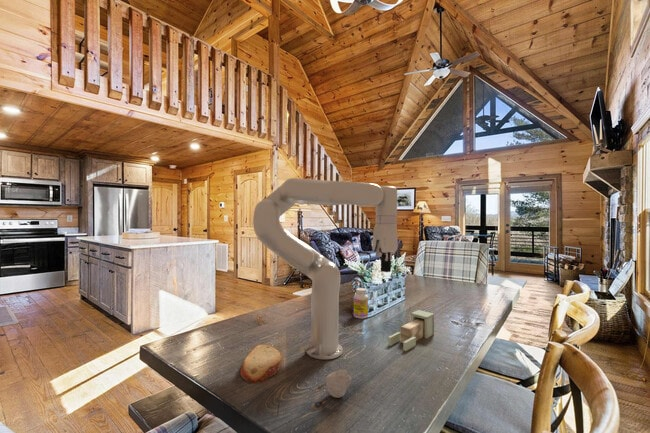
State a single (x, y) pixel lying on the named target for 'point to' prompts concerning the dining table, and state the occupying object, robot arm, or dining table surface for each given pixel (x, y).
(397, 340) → the cradle
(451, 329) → the dining table surface
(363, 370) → the dining table surface
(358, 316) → the supplement bottle
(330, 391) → the pale grey rounded lump
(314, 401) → the dining table surface
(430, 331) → the end cap
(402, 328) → the tan rectangular block
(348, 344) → the dining table surface
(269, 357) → the slice of bread
